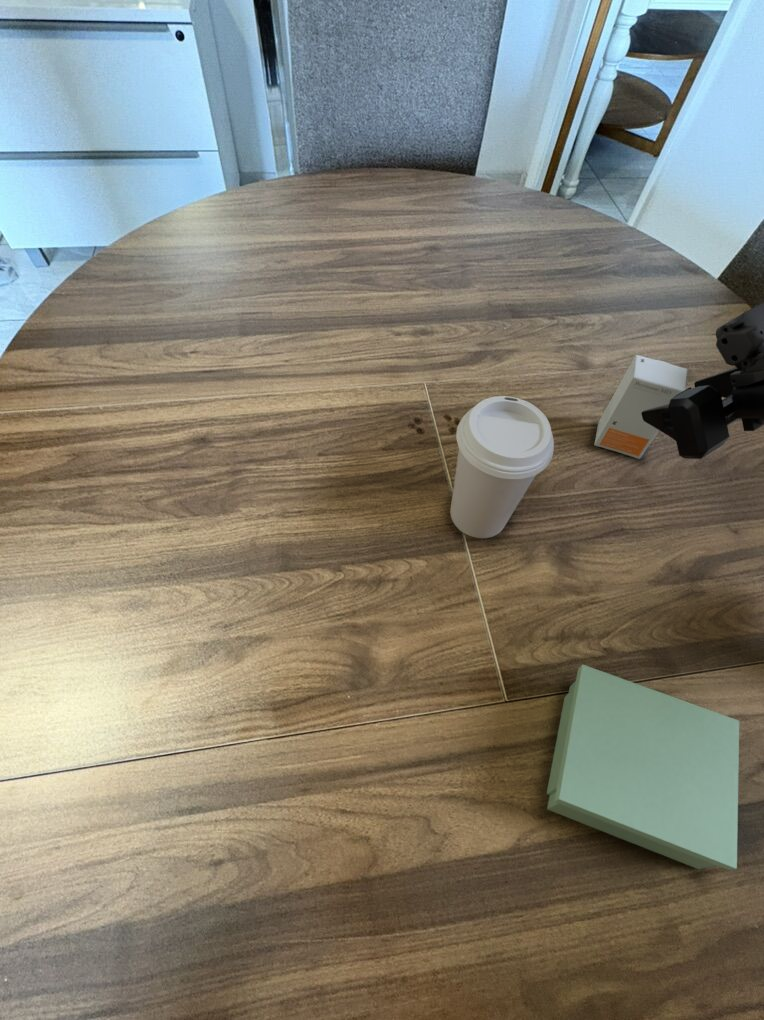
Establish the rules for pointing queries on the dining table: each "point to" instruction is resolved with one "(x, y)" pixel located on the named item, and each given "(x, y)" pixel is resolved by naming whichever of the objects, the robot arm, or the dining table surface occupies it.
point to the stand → (648, 769)
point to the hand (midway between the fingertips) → (670, 400)
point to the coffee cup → (497, 462)
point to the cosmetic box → (638, 405)
